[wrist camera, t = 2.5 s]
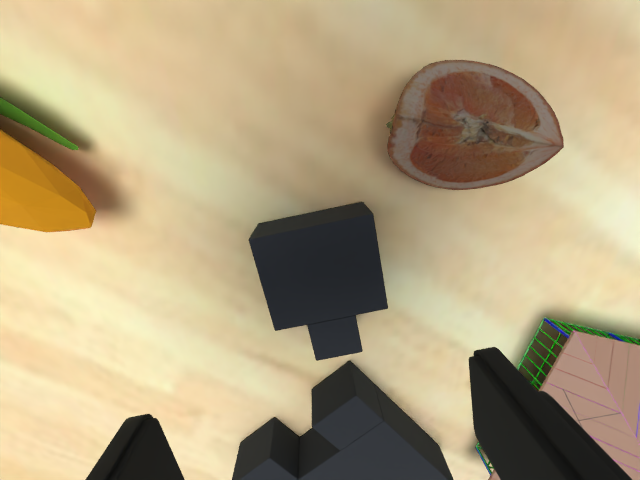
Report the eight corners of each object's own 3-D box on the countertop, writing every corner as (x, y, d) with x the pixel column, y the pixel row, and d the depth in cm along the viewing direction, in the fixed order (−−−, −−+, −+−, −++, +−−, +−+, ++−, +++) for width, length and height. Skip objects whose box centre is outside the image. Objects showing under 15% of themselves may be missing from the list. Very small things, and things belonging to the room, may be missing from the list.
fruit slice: (364, 172, 20) (381, 182, 15) (390, 54, 18) (418, 24, 13) (488, 195, 21) (541, 211, 16) (526, 83, 19) (599, 65, 14)
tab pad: (362, 201, 21) (373, 213, 17) (381, 316, 23) (394, 346, 20) (258, 223, 21) (248, 239, 17) (288, 334, 23) (285, 367, 20)
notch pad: (349, 360, 24) (356, 395, 21) (439, 445, 27) (457, 487, 24) (239, 442, 26) (230, 486, 23) (334, 513, 29) (337, 561, 26)
